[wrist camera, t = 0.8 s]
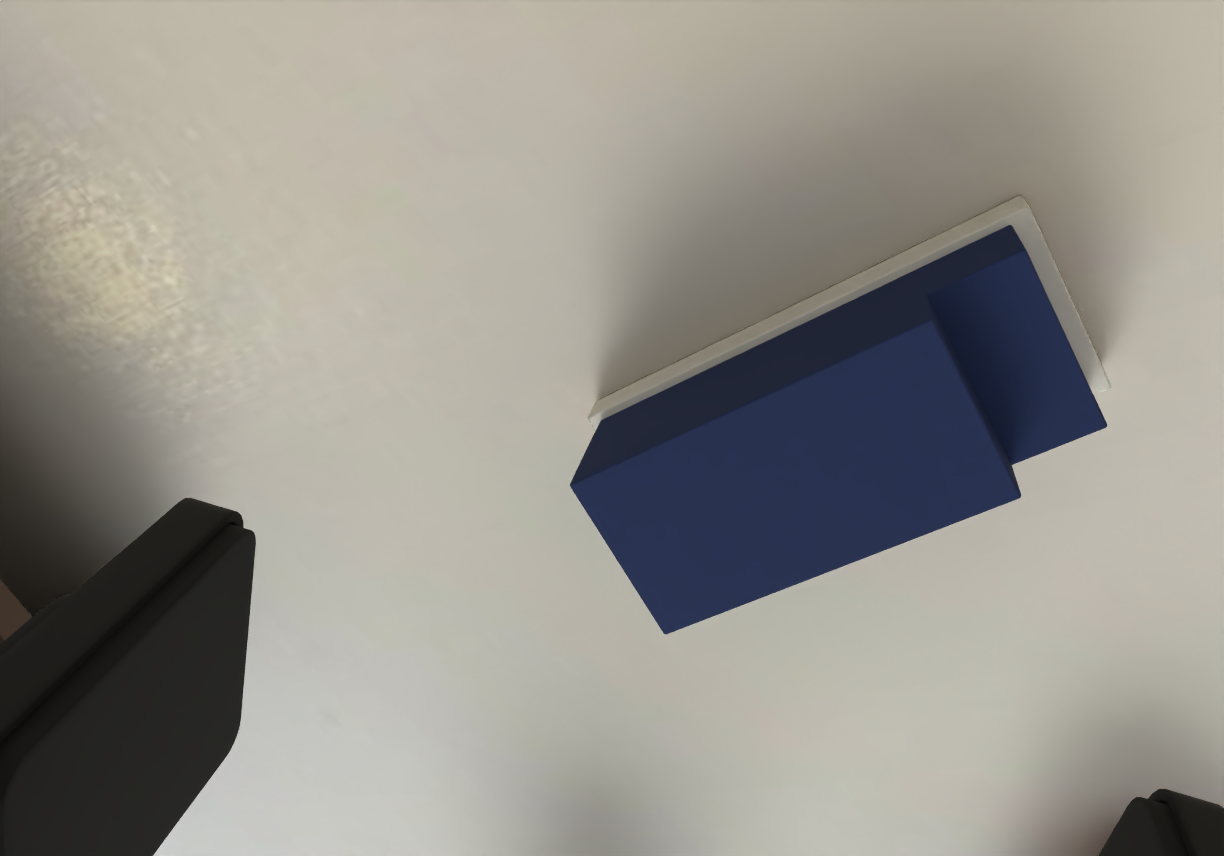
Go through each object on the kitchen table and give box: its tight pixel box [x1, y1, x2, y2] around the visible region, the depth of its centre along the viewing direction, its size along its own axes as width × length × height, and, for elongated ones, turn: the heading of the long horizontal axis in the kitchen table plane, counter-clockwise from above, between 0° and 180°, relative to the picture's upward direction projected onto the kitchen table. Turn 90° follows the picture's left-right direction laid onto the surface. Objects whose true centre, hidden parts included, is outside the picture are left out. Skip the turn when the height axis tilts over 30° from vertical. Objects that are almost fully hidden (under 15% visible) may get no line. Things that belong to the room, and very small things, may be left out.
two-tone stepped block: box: [570, 195, 1111, 634], centre depth 27 cm, size 5×12×5 cm, turn 121°
